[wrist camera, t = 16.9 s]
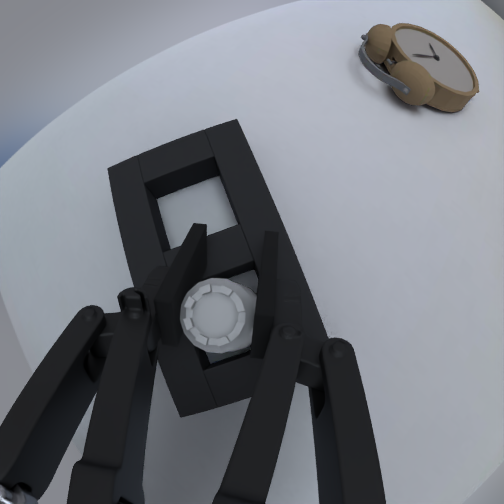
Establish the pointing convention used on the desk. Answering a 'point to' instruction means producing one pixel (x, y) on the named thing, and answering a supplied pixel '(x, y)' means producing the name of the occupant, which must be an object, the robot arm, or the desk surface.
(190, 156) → the socket pad
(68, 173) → the desk surface
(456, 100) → the alarm clock
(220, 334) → the rook chess piece
